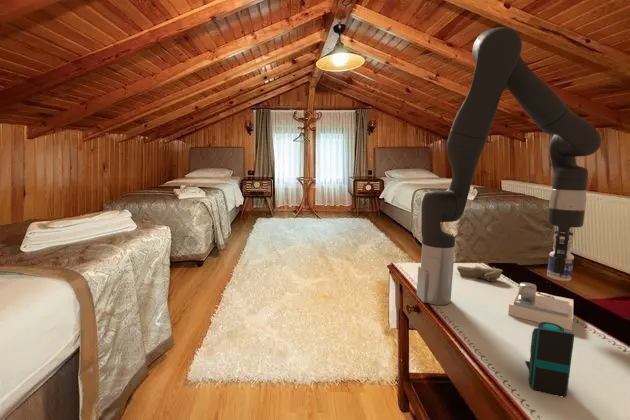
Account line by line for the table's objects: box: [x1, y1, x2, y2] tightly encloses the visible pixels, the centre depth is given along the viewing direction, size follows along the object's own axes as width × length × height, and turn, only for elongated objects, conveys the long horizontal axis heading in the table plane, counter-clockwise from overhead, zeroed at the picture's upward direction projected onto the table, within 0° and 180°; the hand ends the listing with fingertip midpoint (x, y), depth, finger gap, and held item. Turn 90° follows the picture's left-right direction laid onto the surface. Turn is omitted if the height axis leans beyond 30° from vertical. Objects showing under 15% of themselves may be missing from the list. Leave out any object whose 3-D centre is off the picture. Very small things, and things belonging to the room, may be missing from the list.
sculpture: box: [456, 265, 503, 283], centre depth 122 cm, size 7×5×15 cm
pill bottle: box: [546, 244, 575, 282], centre depth 88 cm, size 5×5×9 cm
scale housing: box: [507, 287, 574, 331], centre depth 94 cm, size 16×14×4 cm
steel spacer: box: [518, 281, 537, 301], centre depth 94 cm, size 4×4×4 cm
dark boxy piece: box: [524, 322, 575, 398], centre depth 64 cm, size 6×12×10 cm
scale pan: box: [514, 292, 569, 317], centre depth 92 cm, size 10×12×1 cm
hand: (559, 270), depth 88 cm, fingers closed on pill bottle, 5 cm apart
